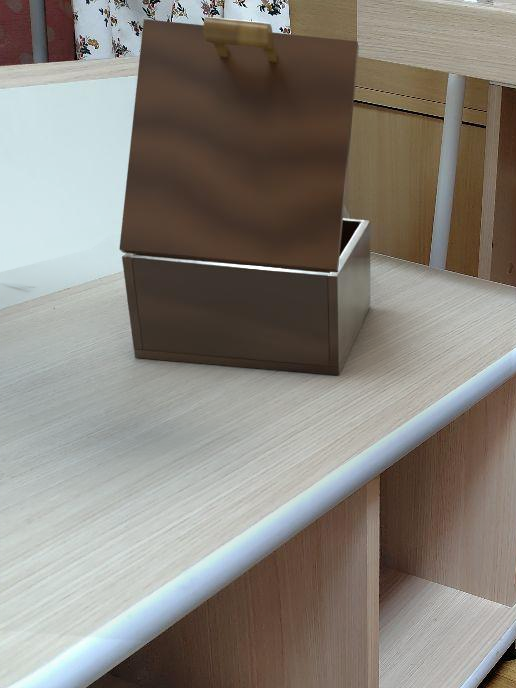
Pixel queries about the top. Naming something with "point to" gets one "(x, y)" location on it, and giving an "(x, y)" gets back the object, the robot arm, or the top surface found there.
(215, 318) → the chest
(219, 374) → the top surface
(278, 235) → the lid
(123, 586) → the top surface
